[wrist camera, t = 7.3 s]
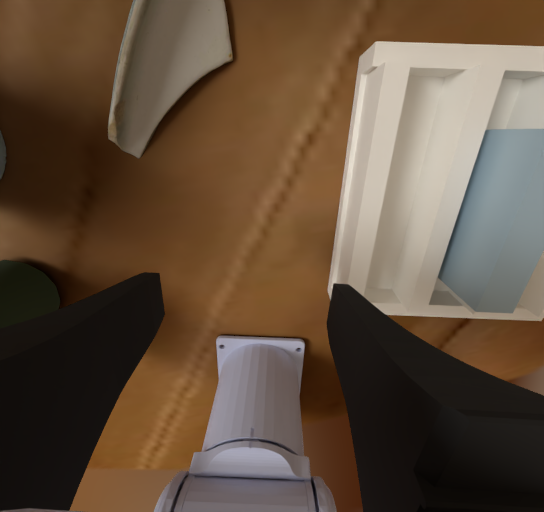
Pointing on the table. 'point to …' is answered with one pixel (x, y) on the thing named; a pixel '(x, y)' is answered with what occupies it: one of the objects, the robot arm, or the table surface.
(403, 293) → the rack
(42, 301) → the cream and green mug
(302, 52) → the table surface
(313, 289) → the table surface
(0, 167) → the light blue cup
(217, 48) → the ceramic fragment
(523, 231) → the tile
